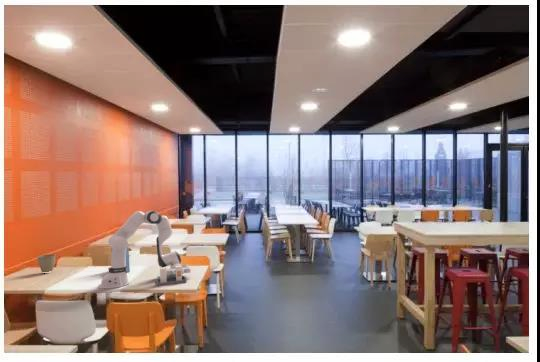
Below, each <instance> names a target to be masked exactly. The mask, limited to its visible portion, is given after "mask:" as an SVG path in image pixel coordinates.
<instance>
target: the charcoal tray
mask: <svg viewBox="0 0 540 362" xmlns="http://www.w3.org/2000/svg"><path fill="white" fill-rule="evenodd" d="M155 280H156V284H157V287H161V286H170V285H177V284H185V283H187V279H186V276H185V275H182V280H180V281H176V277H170V278H167V282H163V283H160V279H158V278H156V279H155Z"/></svg>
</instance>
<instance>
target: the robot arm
mask: <svg viewBox="0 0 540 362" xmlns="http://www.w3.org/2000/svg"><path fill="white" fill-rule="evenodd" d="M144 223H146V224H149V225H155V226H156V227H157V231H158V235H157V237H156V252H157V265H158V267H159V268H162V267H166V275H173V274H174V275H176V272H175V266H180V265H181V266H182V275H183V274H189V273H191V266H189V265H188V264H181V262H182V259H181V255H180V253H179V252H178V251H176V250H174V251H171V252H168V253H165V254H163V247H162V246H163V244H164V243H165V242H166V241H167V240H168V239H169V238H171V236H172V234H173V229H172V225H171V222H170V219H169V218H168V216H166V215H161V214H160V213H159V212H158V211H156V210H147V211H145V212H143V211H140V210H136V211H135V212H134V213H132V214H131V215H130V216H129V218H127V220H126V221H125V222H124V223H123V225H122V226H121V227H120V228H119V229H118V230H116V231H115V232H114V233H113V235H111V236H110V237H109V238H108V246H109V247H110V248H111V247H112V250H111V256H110V263H111V264H110V266H109V267H107V270H108V273H107V274H106V275H105V276H103V277H102V279H101V282H100V284H98V287H99V288H98V287H97V288H98V289H100V290H101V289H102V290H103V289H113V288H122V287H123V286H126V285H129V284H130V282H129V278H128V274H127V273H128V272H127V266H126V250H127V247H128V240H129V238H131V237H132V236H134V235H135V234H136V232H137V231H138V229H139V228H140V227H141V225H143V224H144ZM168 266H170V268H167V267H168Z"/></svg>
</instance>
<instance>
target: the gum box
mask: <svg viewBox="0 0 540 362" xmlns="http://www.w3.org/2000/svg"><path fill="white" fill-rule="evenodd" d="M110 248H111V250H110V251H112V247H110ZM129 249H130V248H129V246H127V250H126V266H127V273H129V272H130V271H131V268H130V251H129Z"/></svg>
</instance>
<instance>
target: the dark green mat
mask: <svg viewBox="0 0 540 362" xmlns="http://www.w3.org/2000/svg"><path fill="white" fill-rule="evenodd" d="M166 277H167V278H170V277H176V275H174V274H173V275H166ZM157 279H160V275H158V276H157Z"/></svg>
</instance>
